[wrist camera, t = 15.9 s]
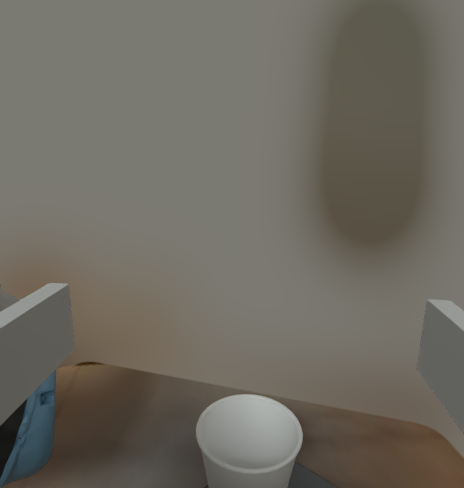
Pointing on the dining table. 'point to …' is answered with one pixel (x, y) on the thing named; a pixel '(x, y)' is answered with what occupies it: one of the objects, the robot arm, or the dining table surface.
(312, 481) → the mat
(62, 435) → the dining table surface
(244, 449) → the cup
